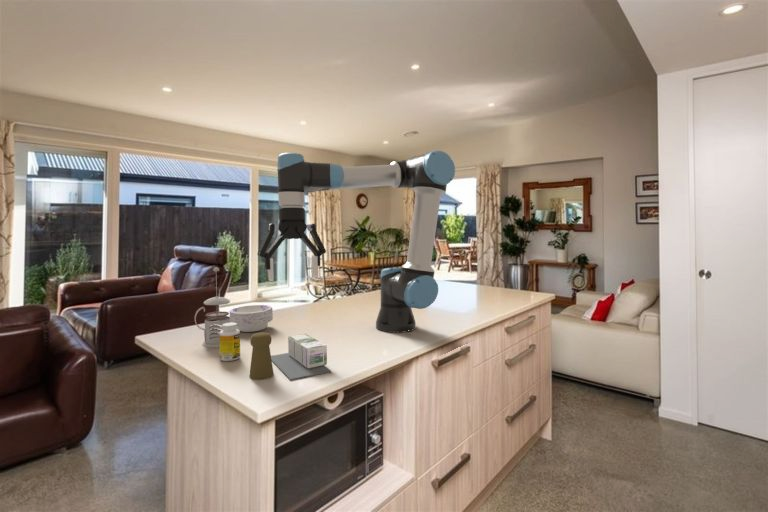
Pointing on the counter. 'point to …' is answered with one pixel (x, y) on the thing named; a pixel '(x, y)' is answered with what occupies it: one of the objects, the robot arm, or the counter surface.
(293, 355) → the syrup box
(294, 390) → the counter surface
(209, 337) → the french press
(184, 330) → the counter surface
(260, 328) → the white bowl
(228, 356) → the supplement bottle
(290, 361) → the mat
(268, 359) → the olive pawn
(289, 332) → the counter surface
